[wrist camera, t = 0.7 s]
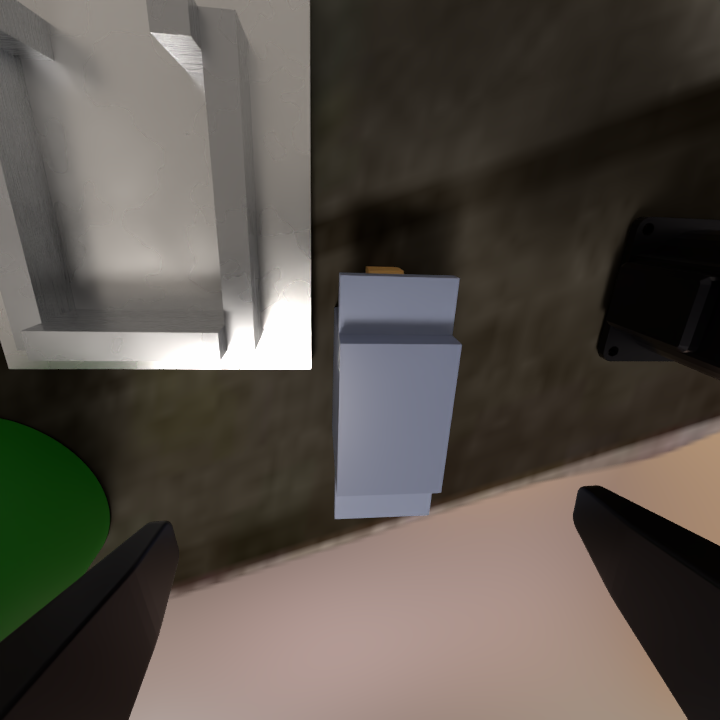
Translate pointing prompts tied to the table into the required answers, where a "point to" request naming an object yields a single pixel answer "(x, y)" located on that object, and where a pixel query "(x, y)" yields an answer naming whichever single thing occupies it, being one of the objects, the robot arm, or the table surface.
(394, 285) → the block
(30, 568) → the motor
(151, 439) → the table surface
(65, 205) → the chassis
